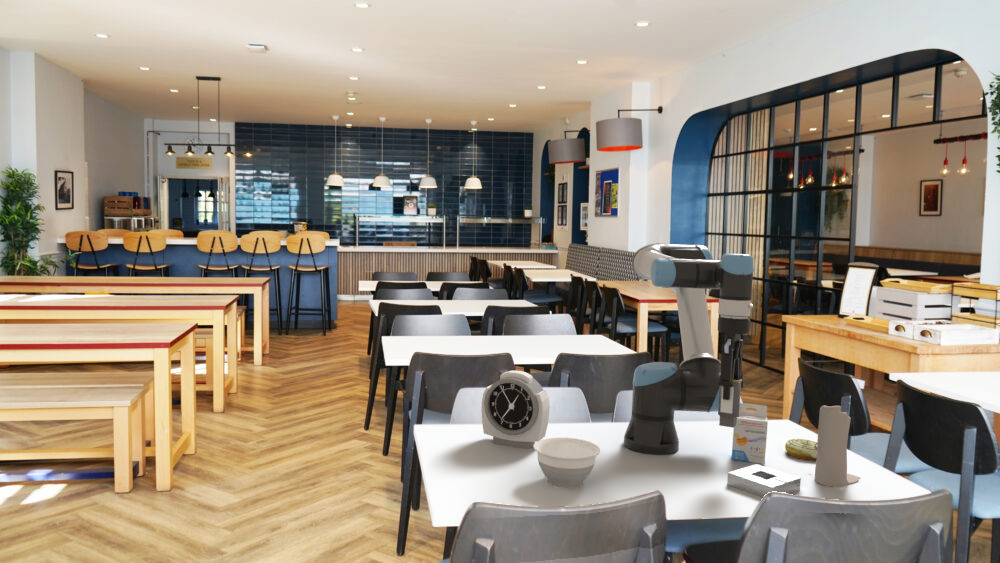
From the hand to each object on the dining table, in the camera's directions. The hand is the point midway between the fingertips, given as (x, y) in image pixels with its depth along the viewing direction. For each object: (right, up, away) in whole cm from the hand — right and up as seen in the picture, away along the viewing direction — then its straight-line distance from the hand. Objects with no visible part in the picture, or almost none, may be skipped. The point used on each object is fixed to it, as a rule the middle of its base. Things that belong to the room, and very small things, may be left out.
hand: (728, 410), depth 189 cm
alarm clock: (-53, -13, +24) cm, 59 cm away
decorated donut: (+28, -17, +23) cm, 40 cm away
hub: (+7, -18, -5) cm, 20 cm away
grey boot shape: (+28, -18, +3) cm, 34 cm away
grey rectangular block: (0, -4, 0) cm, 4 cm away
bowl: (-41, -16, -6) cm, 45 cm away
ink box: (+10, -16, +17) cm, 25 cm away
